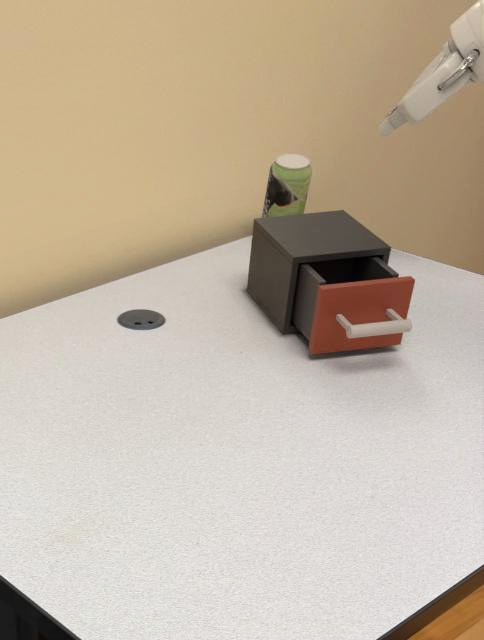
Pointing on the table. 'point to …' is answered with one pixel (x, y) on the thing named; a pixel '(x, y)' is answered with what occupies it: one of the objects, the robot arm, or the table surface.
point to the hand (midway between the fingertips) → (385, 126)
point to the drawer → (351, 304)
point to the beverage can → (287, 185)
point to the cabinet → (301, 255)
